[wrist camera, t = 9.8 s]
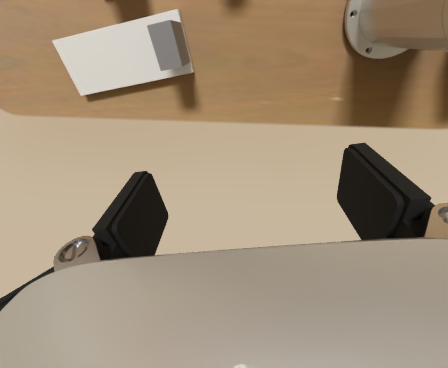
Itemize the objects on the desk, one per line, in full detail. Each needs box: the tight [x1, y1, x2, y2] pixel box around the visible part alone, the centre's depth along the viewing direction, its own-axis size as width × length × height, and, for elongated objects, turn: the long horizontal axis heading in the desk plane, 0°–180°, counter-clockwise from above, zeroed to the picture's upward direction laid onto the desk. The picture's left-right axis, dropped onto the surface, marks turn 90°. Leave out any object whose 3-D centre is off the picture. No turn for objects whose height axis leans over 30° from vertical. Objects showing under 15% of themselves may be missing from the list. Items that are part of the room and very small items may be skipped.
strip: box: [52, 9, 194, 96], centre depth 31 cm, size 20×8×7 cm, turn 101°
